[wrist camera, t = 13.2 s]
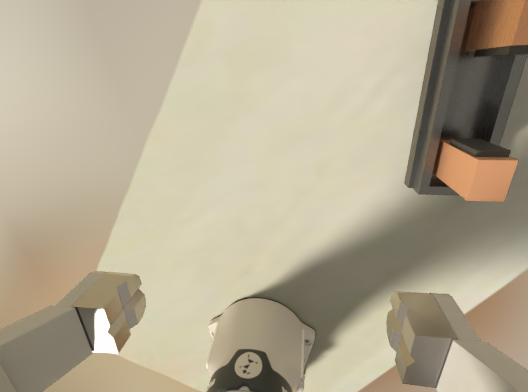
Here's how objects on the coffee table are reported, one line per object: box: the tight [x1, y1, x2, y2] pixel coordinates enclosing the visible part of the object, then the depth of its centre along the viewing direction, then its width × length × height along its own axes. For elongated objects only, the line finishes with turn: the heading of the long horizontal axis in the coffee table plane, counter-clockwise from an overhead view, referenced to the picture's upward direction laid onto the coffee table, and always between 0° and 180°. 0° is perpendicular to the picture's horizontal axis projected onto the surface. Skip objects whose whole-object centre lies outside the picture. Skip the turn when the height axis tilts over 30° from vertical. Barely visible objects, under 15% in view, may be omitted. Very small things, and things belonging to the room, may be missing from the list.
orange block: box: [432, 139, 518, 202], centre depth 29 cm, size 5×3×8 cm
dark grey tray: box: [405, 0, 528, 195], centre depth 28 cm, size 20×8×10 cm, turn 2°
